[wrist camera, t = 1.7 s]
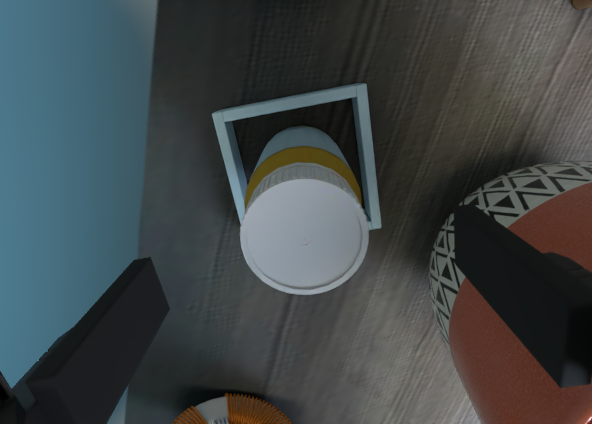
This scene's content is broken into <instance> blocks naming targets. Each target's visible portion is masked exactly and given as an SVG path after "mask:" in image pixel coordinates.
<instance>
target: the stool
mask: <svg viewBox="0 0 592 424" xmlns="http://www.w3.org/2000/svg"><path fill="white" fill-rule="evenodd" d="M572 3H573V6H574V7H575V8H576V9H579V10H581V9H585V8H590V7H592V0H573V1H572Z"/></svg>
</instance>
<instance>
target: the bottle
mask: <svg viewBox="0 0 592 424" xmlns="http://www.w3.org/2000/svg"><path fill="white" fill-rule="evenodd" d="M244 205H245V213H244V216H243V219H242V224H241V227H240V229H241V232H240V236H241V239H240V242H241V248H242V251H243V254H244V257H245V259H246V261H247V263H248V265H249V267H250V268H251V269H252V271H253V272H254V273H255V274H256V275H257V276H258V277H259V278H260V279H261V280H262V281H264V282H265V283H266V284H268V285H270V286H271V287H273V288H275V289H278V290H280V291H283V292H287V293H291V294H298V295H310V294H317V293H322V292H325V291H328V290H331V289H333V288H335V287H337V286H339V285H341V284H342V283H344V282H345V281H346V280H348V279H349V278H350V277H351V276H352V275H353V274H354V273H355V272H356V270H357V269H358V268H359V266H360V265H361V263H362V261H363V259H364V257H365V254H366V251H367V247H368V242H369V241H368V240H369V233H368V232H369V228H368V226H367V225H368V221H367V219H366V215H365V213H364V210H363V208H362V203H361V192H360V188H359V185H358V183H357V180H356V178H355V176H354V174H353V172H352V170H351V168H350V167H349V165H348V163H347V161H346V160H345V158H344V156H343V154H342V153H341V151H340V149H339V147H338V146H337V144H336V143H335V142H334V141H333V140H332V139H331V137H330V136H329V135H327V134H326V133H325V132H323V131H321V130H319V129H317V128H315V127H310V126H305V125H300V126H292V127H288V128H286V129H284V130H282V131H280V132H278V133H277V134H276V135H275V136H274V137H273V138H272V139H270V140H269V142H268V143H267V144H266V146H265V148H264V150H263V152H262V154H261V156H260V158H259V161H258V163H257V165H256V167H255V169H254V171H253V174H252V176H251V178H250V180H249V182H248V185H247V189H246V195H245V202H244Z"/></svg>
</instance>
